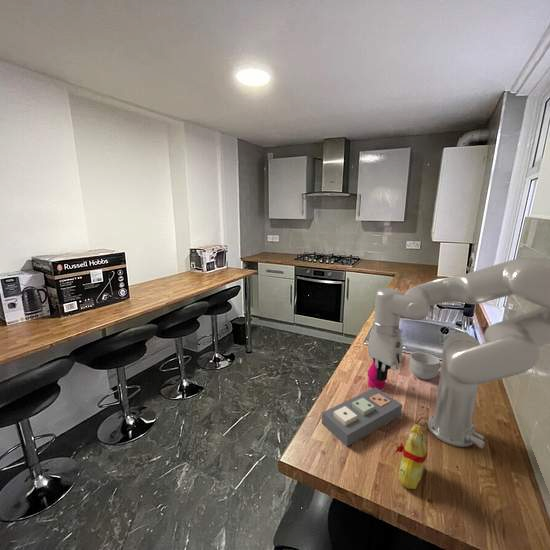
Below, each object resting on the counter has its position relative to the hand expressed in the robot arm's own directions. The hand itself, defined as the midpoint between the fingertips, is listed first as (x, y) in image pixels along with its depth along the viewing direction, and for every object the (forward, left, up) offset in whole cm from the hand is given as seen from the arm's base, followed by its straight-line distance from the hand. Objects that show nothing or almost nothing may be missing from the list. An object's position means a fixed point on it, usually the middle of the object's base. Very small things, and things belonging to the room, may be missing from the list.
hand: (381, 379), depth 96 cm
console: (0, +8, -12) cm, 14 cm away
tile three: (0, 0, -11) cm, 11 cm away
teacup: (+3, -33, -12) cm, 35 cm away
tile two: (0, +8, -10) cm, 13 cm away
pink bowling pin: (+10, -11, -12) cm, 19 cm away
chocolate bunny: (-20, +13, -12) cm, 27 cm away
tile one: (0, +16, -10) cm, 19 cm away
